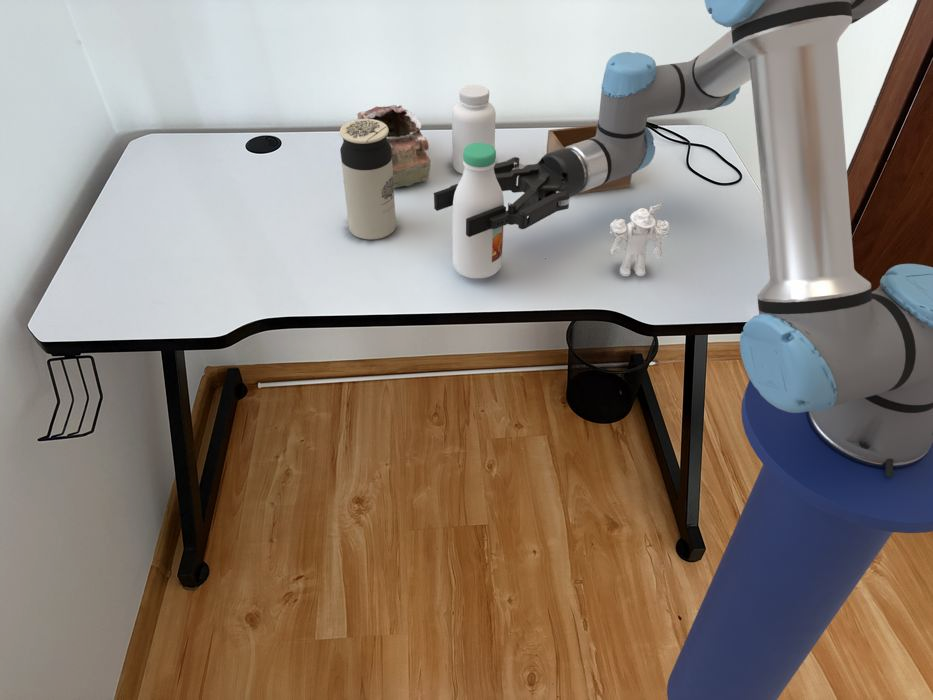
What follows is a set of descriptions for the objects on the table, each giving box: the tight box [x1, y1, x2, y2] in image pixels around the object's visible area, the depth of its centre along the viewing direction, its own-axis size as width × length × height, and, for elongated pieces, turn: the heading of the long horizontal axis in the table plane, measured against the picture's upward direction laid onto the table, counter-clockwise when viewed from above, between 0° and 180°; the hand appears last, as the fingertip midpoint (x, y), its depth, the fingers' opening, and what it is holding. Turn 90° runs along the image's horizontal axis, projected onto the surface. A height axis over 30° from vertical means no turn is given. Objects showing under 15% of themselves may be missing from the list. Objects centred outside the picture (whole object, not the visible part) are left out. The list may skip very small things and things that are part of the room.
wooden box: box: [545, 124, 633, 195], centre depth 140 cm, size 12×12×7 cm
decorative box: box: [356, 104, 431, 189], centre depth 141 cm, size 13×20×10 cm, turn 16°
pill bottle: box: [451, 84, 497, 175], centre depth 139 cm, size 8×8×15 cm
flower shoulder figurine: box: [609, 202, 670, 277], centre depth 117 cm, size 9×4×12 cm, turn 89°
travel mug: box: [339, 118, 397, 240], centre depth 123 cm, size 8×8×18 cm
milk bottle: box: [451, 143, 505, 279], centre depth 113 cm, size 8×8×20 cm
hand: (451, 214), depth 110 cm, fingers closed on milk bottle, 8 cm apart
